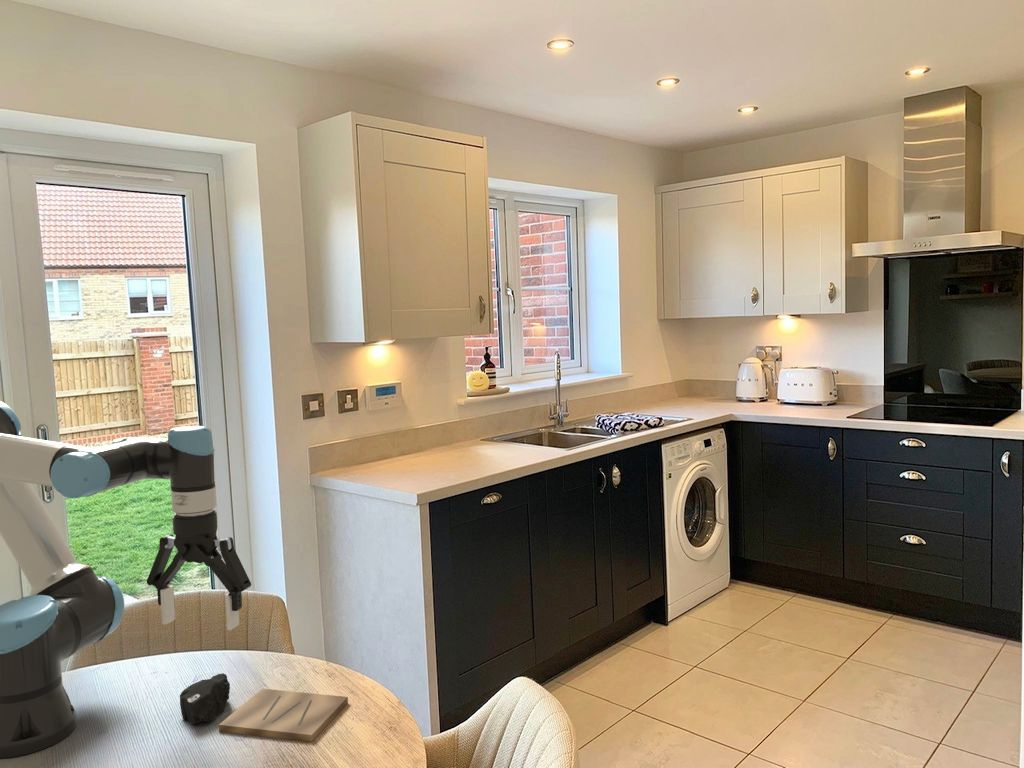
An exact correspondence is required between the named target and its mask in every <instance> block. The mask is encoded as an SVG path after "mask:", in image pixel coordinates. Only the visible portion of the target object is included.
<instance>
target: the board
mask: <svg viewBox="0 0 1024 768" xmlns="http://www.w3.org/2000/svg"><path fill="white" fill-rule="evenodd" d="M348 704H349V697H348V696H345V695H344V696H342V695H332V694H331V695H330V694H322V693H321V694H320V693H310V692H309V693H308V692H301V691H290V690H280V689H268V688H261V689H259V691H257V692H256V693H255V694H254V695H253V696H251V697H250V698H249V699H248V700H247V701H245V702H244V703H243V704H242V705H241V706H239V707H238V708H237V709H235V711H233V712H232V713H231V714H230V715H228V717H225V719H224V720H223V721H221V722H220V723H219V724H218V732H221V733H222V732H224V733H230V734H231V733H233V734H239V735H240V734H242V735H247V736H248V735H249V736H259V737H267V738H276V739H283V740H293V741H302V742H310V743H311V742H313V741H314V740H315V739H316V738H317V737H318V736H319V735H320V734H321V733H322V732H323V730H324V729H325V728H326V727H327V726H328V725H329V724H330V723H331V722H332V721H333V720H334V718H336V716H337V715H339V713H340V712H341V711H342V710H343V709H344V708H345V707H346V706H347V705H348Z"/></svg>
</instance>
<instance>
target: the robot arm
mask: <svg viewBox="0 0 1024 768" xmlns="http://www.w3.org/2000/svg"><path fill="white" fill-rule="evenodd" d="M21 424H22V423H21V421H20V419H19V417H18V415H17V413H16V412H15V411H14V410H13V409H12V407H10V406H9V405H8V404H6V403H4V402H3V401H1V400H0V535H1V537H2V539H3V541H4V542H5V545H6V546H7V547H8V549H9V551H10V552H11V554H12V556H13V557H14V560H15V561H16V563H17V565H18V566H19V568H20V570H21V571H22V573H23V575H24V576H25V578H26V579H27V580H26V581H28V583H29V585H30V587H31V590H30V592H29V593H30V594H29V595H27V596H22V597H21V598H18V599H12V600H9V601H7V602H5V603H3V604H0V759H4V758H5V759H9V758H15V757H20V756H21V757H22V756H26V755H28V754H29V755H30V754H32V753H35V752H39V751H41V750H43V749H46V748H49V747H51V746H53V745H55V744H57V743H59V742H61V741H62V740H64V739H65V738H67V737H68V736H69V735H70V734H71V733H72V732H73V731H74V730H75V728H76V727H77V714H76V713H77V712H76V709H75V707H74V706H73V704H72V702H71V700H70V698H69V695H68V692H67V691H66V688H65V687H64V685H63V684H64V683H63V677H62V676H63V674H62V662H63V661H64V660H66V659H68V658H70V657H71V656H74V655H75V654H77V653H79V652H80V651H83V650H85V649H86V648H88V647H90V646H92V645H94V644H97V643H99V642H100V641H102V640H104V639H105V638H106V637H108V636H109V635H111V634H112V633H113V632H114V631H115V630H117V628H118V627H119V626H120V624H121V622H122V620H123V614H124V612H125V598H124V596H123V592H122V589H121V588H120V586H119V585H118V583H116V581H114V580H113V579H112V578H108V577H107V576H101V575H100V576H97V575H96V573H95V571H94V570H93V568H92V566H91V565H89V564H83V563H80V562H78V560H77V559H76V557H75V555H74V554H73V552H72V550H71V548H70V547H69V545H68V543H67V542H66V540H65V539H64V537H63V534H61V531H60V530H59V528H58V527H57V525H56V523H55V521H54V520H53V518H52V517H51V515H50V513H49V511H48V510H47V508H46V506H45V505H44V502H43V501H42V499H41V497H40V496H39V494H38V493H37V491H36V489H35V487H34V486H33V484H35V485H40V486H46V487H52V488H54V489H55V491H57V492H58V493H60V494H61V496H63V497H65V498H68V499H79V498H87V497H91V496H95V495H97V494H98V493H103V492H106V491H108V490H111V489H115V488H118V487H121V486H125V485H129V484H132V483H136V482H139V481H142V480H149V479H150V480H151V479H154V480H155V479H159V480H160V479H161V480H170V481H169V482H170V491H171V493H170V494H171V508H172V509H171V510H172V512H173V513H174V514H173V515H172V533H173V534H172V533H169V534H167V535H165V536H162V537H160V538H159V545H158V551H157V554H156V557H155V559H154V562H153V563H152V567H151V570H150V571H149V574H148V577H147V579H146V585H148V586H153V587H155V589H156V591H157V593H156V594H157V604H158V606H161V608H160V609H161V611H160V613H161V625H164V626H166V625H168V624H170V623H172V622H174V621H175V620H176V610H175V609H176V608H175V591H174V588H175V586H174V585H171V584H172V581H173V579H174V578H175V577H176V575H177V574H178V572H179V571H180V570H181V569H182V567H183V566H184V564H185V563H193V562H194V563H196V564H203V563H204V565H205V566H206V567H209V569H210V570H211V571H212V572H213V573H214V574H215V577H217V579H219V582H221V584H222V585H223V586H224V587H225V589H226V590H227V591H228V593H227V594H225V613H226V616H225V617H226V630H227V631H232V630H233V629H235V628H237V627H239V626H240V611H239V610H241V609H242V607H243V600H242V598H243V597H242V595H243V594H242V592H244V591H246V590H247V589H249V588H250V587H252V581H251V580H250V578H249V576H248V574H247V572H246V570H245V568H244V566H243V563H242V562H241V559H240V558H239V556H238V553H237V551H236V549H235V544H234V539H233V538H232V536H229V537H227V538H223V539H219V537H217V530H218V512H217V511H216V510H215V508H216V507H217V506H218V505H217V491H216V490H217V489H216V481H215V447H214V443H213V442H214V441H213V432H212V430H211V429H210V428H209V427H208V426H203V425H186V426H178V427H172V428H171V429H169V430H168V432H167V437H140V436H139V437H138V436H133V435H132V436H129V437H128V436H127V437H120V438H116V439H114V440H113V441H112V442H111V443H110V444H107V445H101V446H97V447H88V446H82V445H77V444H76V445H75V444H71V443H65V442H59V441H53V440H45V439H39V438H33V437H28V436H27V437H26V436H22V433H21V430H22V425H21ZM174 547H175V549H176V550H177V552H176V554H175V555H174V556H173V558H172V561H171V562H170V564H169V565H168V561H169V559H170V557H171V555H172V553H173V549H174ZM167 565H168V566H167ZM166 567H167V568H166ZM168 585H169V586H168Z"/></svg>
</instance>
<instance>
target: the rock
mask: <svg viewBox="0 0 1024 768" xmlns="http://www.w3.org/2000/svg"><path fill="white" fill-rule="evenodd" d="M230 689H231V686H230V681H229V680H228V676H227V674H226V673H224V672H223V673H217V674H215V675H212V676H211V677H210V678H208V679H201V680H199V681H196V682H194V683H192V684H190V685H189V686H187V687H186V688H185V689H183V690H182V691H181V693H180V694H179V707H180V712H181V713H180V714H181V716H182V719H183V721H187V722H188V721H189V724H190V725H196V724H199V723H202V722H206V723H207V722H213V721H214V720H215V718H216V717H219V716H220V715H222V714H223V713H224V711H225V709H226V707H227V702H228V700H229V699H230Z"/></svg>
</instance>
